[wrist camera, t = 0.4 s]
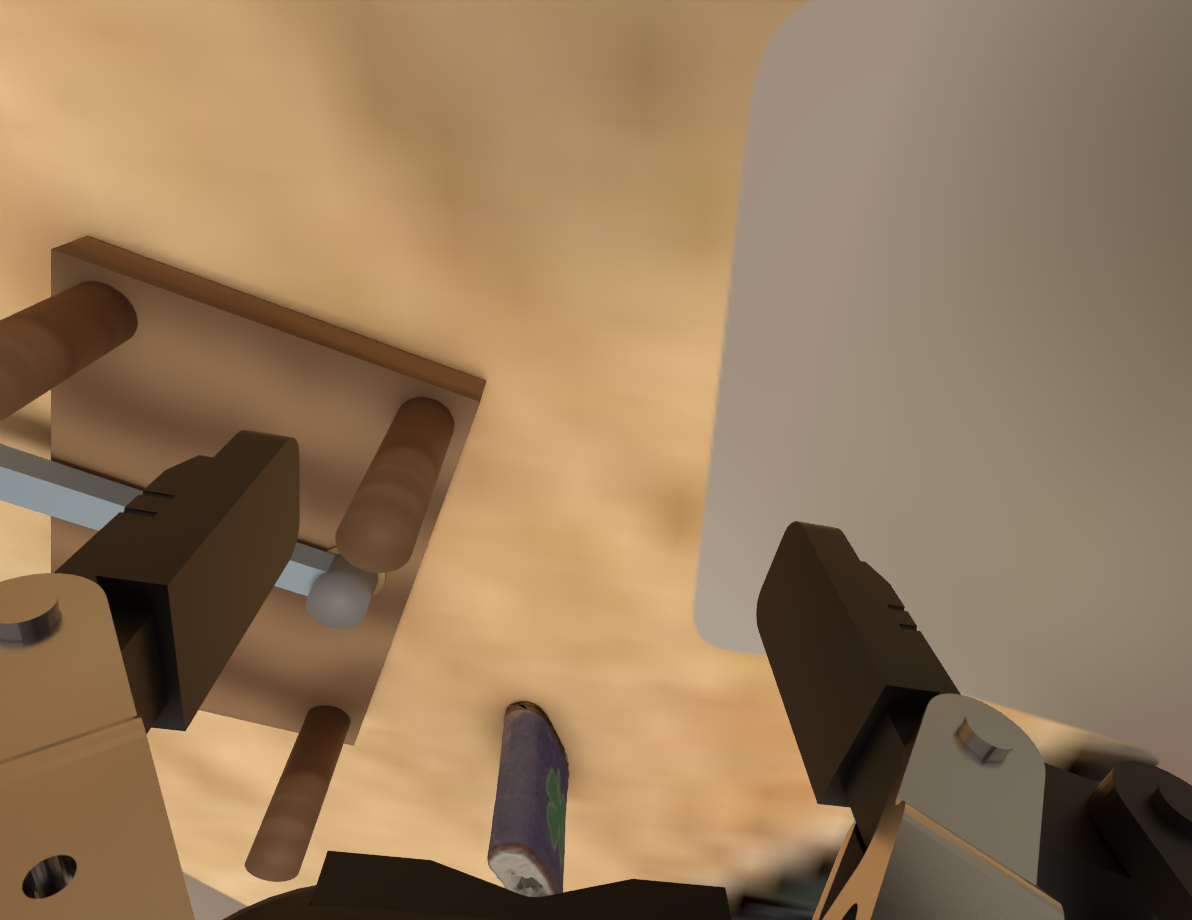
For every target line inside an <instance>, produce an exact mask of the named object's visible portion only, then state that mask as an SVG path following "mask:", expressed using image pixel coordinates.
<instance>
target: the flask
mask: <svg viewBox="0 0 1192 920" xmlns="http://www.w3.org/2000/svg"><path fill="white" fill-rule="evenodd" d="M519 705H524V706H525V707H526V708H527V709H524V708H523V707H521V706H519ZM519 705H518V704H516V705H513V706H512V705H510V706H509V708H508V710H507V711H506V714H505V717H504V730H503V736H502V748H501V757H500V768H499V776H498V784H497V793H496V801H495V806H494V814H493V822H492V830H491V838H490V844H489V851H488V865H489V867H490V869H491V870H492V871H493V872H494V873H495V874H496V876H497V878H498V879H499V880H501V881H502V883H503V885H504V886H505V889H508V890H511V891H513V892H516V893H519V894H521V895H525V896H528V897H543V896H548V895H553V894H558V893H563V872H564V853H565V818H566V803H567V790H568V778H569V770H568V765H569V764H568V763H567V755H566V753H565V749H564V747H562V745H561V743H560V739H559V738H558V736H557V733H556V731H555V730H554V728H553V726H552V724H551V722H550V721H549V719H548V716H547V714H545V713H544V712H543V711H542V710H541V709H540V708H539V707H537V706H536V705H535V704H531V703H528V702H523V703H521V704H519Z"/></svg>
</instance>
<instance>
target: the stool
mask: <svg viewBox="0 0 1192 920" xmlns="http://www.w3.org/2000/svg"><path fill="white" fill-rule="evenodd" d="M485 383H486V381H484V380H481V379H479V378H476V377H473V376H470V375H467V374H465V373H462V372H459V371H456V370H454V369H451V368H448V367H445V366H443V365H440V364H437V363H434V362H432V361H429V360H426V359H423V358H421V357H418V356H415V355H412V354H410V353H407V352H404V351H401V350H399V349H396V348H393V347H390V346H388V345H385V344H382V343H379V342H377V341H374V340H371V339H368V338H366V337H363V336H360V335H357V334H355V333H352V332H349V331H346V330H344V329H341V328H338V327H335V326H333V325H330V324H327V323H324V322H322V321H319V320H316V319H313V318H311V317H308V316H305V315H302V314H300V313H297V312H294V311H291V310H289V309H286V308H283V307H280V306H278V305H275V304H272V303H269V302H267V301H264V300H261V299H258V298H256V297H253V296H250V295H247V294H245V293H242V292H239V291H236V290H234V289H231V288H228V287H225V286H223V285H220V284H217V283H214V282H212V281H209V280H206V279H203V278H201V277H198V276H195V275H192V274H190V273H187V272H184V271H181V270H179V269H176V268H173V267H170V266H168V265H165V264H162V263H159V262H157V261H154V260H151V259H148V258H146V257H143V256H140V255H137V254H135V253H132V252H129V251H126V250H124V249H121V248H118V247H115V246H113V245H110V244H107V243H104V242H102V241H99V240H96V239H93V238H91V237H88V236H85V237H83V238H80V239H77V240H75V241H72V242H69V243H67V244H64V245H61V246H59V247H56V248H53V249H51V297H50V298H48V299H46V300H43V301H41V302H39V303H37V304H35V305H33V306H30V307H28V308H26V309H24V310H22V311H20V312H18V313H15V314H13V315H11V316H9V317H7V318H5V319H2V320H0V421H2V420H3V419H5V418H6V417H8V416H10V415H11V414H13V413H14V412H16V411H17V410H19V409H21V408H22V407H24V406H25V405H27V404H28V403H30V402H32V401H33V400H35V399H36V398H38V397H39V396H41V395H43V394H44V393H46V392H47V391H49V390H50V389H51V461H53V462H56V463H59V464H62V465H65V466H68V467H71V468H74V469H77V470H80V471H83V472H86V473H89V474H92V475H95V476H98V477H101V478H104V479H108V480H111V481H114V482H117V483H120V484H123V485H126V486H129V487H132V488H135V489H138V490H141V491H143V490H144V489H145V488H146V487H147V486H148V485H149V484H151V483H152V482H153V481H154V480H155V479H156V478H157V477H158V476H159V475H160V474H161V473H163V472H164V471H165V470H166V469H169V468H171V467H173V466H175V465H178V464H180V463H182V462H184V461H187V460H189V459H191V458H193V457H196V456H198V455H202V456H208V457H214V456H215V455H216V454H217V453H218V452H219V451H220V450H221V449H222V448H223V447H224V446H225V445H226V444H227V443H228V442H229V441H230V440H231V439H232V438H233V437H234V436H235V435H236V434H237V433H238V432H239V431H241V430H250V431H256V432H263V433H269V434H275V435H281V436H287V437H293V438H295V439H296V440H297V442H298V445H299V461H300V524H299V532H298V538H297V542H298V543H301V544H304V545H307V546H310V547H313V548H316V549H319V550H322V551H325V552H328V553H331V554H334V555H338V554H341V555H342V556H343V558H344V559H345V560H346V561H348V562H349V563H350V564H352V565H353V566H355V567H357V568H359V569H361V570H364V571H368V572H373V573H377V574H378V582H377V585H376V588H375V591H374V593H373V596H372V598H371V601H370V603H369V606H368V609H367V611H366V614H365V616H364V618H363V620H362V621H361V622H360V623H359V624H358V625H356V626H354V627H351V628H347V629H335V628H330V627H327V626H324V625H322V624H320V623H318V622H317V621H315V620H314V619H313V618H312V617H311V616H310V615H309V613H308V611H307V609H306V598H307V596H305V595H302V594H299V593H296V592H292V591H289V590H286V589H283V588H280V587H276V586H274V587H273V589H272V590H271V592H270V594H269V595H268V597H267V598H266V600H265V602H264V603H263V605H262V607H261V608H260V610H259V612H258V613H257V615H256V616H255V618H254V620H253V621H252V623H251V625H250V626H249V628H248V630H247V631H246V633H245V634H244V636H243V638H242V639H241V641H240V643H239V644H238V646H237V648H236V649H235V651H234V652H233V654H232V656H231V657H230V659H229V661H228V662H227V664H226V666H225V667H224V669H223V670H222V672H221V674H220V675H219V677H218V679H217V680H216V682H215V683H214V685H213V687H212V688H211V690H210V692H209V693H208V695H207V697H206V698H205V700H204V701H203V703H202V705H201V706H200V708H199V710H201V711H206V712H210V713H214V714H219V715H223V716H227V717H232V718H236V719H240V720H245V721H249V722H253V723H258V724H262V725H266V726H271V727H275V728H279V729H284V730H288V731H292V732H297V733H299V735H298V737H297V739H296V742H295V744H294V747H293V749H292V751H291V754H290V756H289V759H288V761H287V763H286V766H285V768H284V771H283V773H282V775H281V778H280V780H279V783H278V785H277V788H276V790H275V792H274V795H273V797H272V800H271V802H270V804H269V807H268V809H267V812H266V814H265V816H264V819H263V821H262V824H261V826H260V828H259V831H258V833H257V836H256V838H255V840H254V843H253V845H252V848H251V850H250V852H249V855H248V857H247V860H246V862H245V867H246V869H247V871H248V872H249V873H250V874H252V875H253V876H255V877H257V878H260V879H263V880H267V881H274V882H281V881H288V880H291V879H293V878H295V877H296V876H297V875H298V873H299V871H300V868H301V865H302V862H303V859H304V856H305V853H306V850H307V848H308V845H309V842H310V839H311V836H312V833H313V830H314V827H315V824H316V822H317V819H318V816H319V813H320V810H321V807H322V804H323V801H324V798H325V795H326V793H327V790H328V787H329V784H330V781H331V778H332V775H333V772H334V769H335V767H336V764H337V761H338V758H339V755H340V752H341V749H342V746H343V743H344V744H349V745H353V746H354V744H355V741H356V738H357V735H358V733H359V730H360V727H361V725H362V722H363V719H364V716H365V714H366V711H367V708H368V706H369V703H370V700H371V697H372V695H373V692H374V689H375V686H376V684H377V681H378V678H379V676H380V673H381V670H382V667H383V665H384V662H385V659H386V656H387V654H388V651H389V648H390V646H391V643H392V640H393V637H394V635H395V632H396V629H397V627H398V624H399V621H400V618H401V616H402V613H403V610H404V607H405V605H406V602H407V599H408V597H409V594H410V591H411V588H412V586H413V583H414V580H415V578H416V575H417V572H418V569H419V567H420V564H421V561H422V558H423V556H424V553H425V550H426V548H427V545H428V542H429V539H430V537H431V534H432V531H433V529H434V526H435V523H436V520H437V518H438V515H439V512H440V509H441V507H442V504H443V501H444V499H445V496H446V493H447V490H448V488H449V485H450V482H451V479H452V477H453V474H454V471H455V469H456V466H457V463H458V460H459V458H460V455H461V452H462V450H463V447H464V444H465V441H466V439H467V436H468V433H469V430H470V428H471V425H472V422H473V420H474V417H475V414H476V411H477V409H478V406H479V403H480V400H481V397H482V393H483V390H484V387H485ZM97 532H98V530H95V529H91V528H88V527H85V526H82V525H79V524H75V523H72V522H69V521H66V520H63V519H59V518H56V517H53V516H51V573H54V572H55V571H56V570H57V569H58V568H59V567H60V566H61V565H62V564H64V563H65V562H66V561H67V560H68V559H69V558H70V557H71V556H72V555H73V554H74V553H76V552H77V551H78V550H79V549H80V548H81V547H82V546H83V545H84V544H85V543H86V542H87V541H89V540H90V539H91V538H92V537H93V536H94V535H95V534H96V533H97Z"/></svg>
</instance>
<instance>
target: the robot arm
mask: <svg viewBox="0 0 1192 920" xmlns="http://www.w3.org/2000/svg"><path fill="white" fill-rule="evenodd" d="M299 524H300V461H299V445H298V442H297V440H296V439H295V438H293V437H287V436H281V435H275V434H269V433H263V432H256V431H250V430H241V431H239V432H238V433H237V434H236V435H235V436H234V437H233V438H232V439H231V440H230V441H229V442H228V443H227V444H226V445H225V446H224V447H223V448H222V449H221V450H220V451H219V452H218V453H217V454H216V455H215V456H214V457H208V456H202V455H198V456H196V457H193V458H191V459H189V460H187V461H184V462H182V463H180V464H178V465H175V466H173V467H171V468H169V469H166V470H165V471H164V472H163V473H161V474H160V475H159V476H158V477H157V478H156V479H155V480H154V481H153V482H152V483H151V484H149V485H148V486H147V487H146V488H145V489H144V490H143V494H142V495H138V496H136V497H135V498H134V499H133V500H132V501H131V502H130V503H129V504H128V505H127V506H126V507H124V512H119V513H118V514H117V515H116V516H115V517H114V518H113V519H111V520H110V521H109V522H108V523H107V524H106V525H105V526H104V527H103V528H102V529H101V530H99V531H98V532H97V533H96V534H95V535H94V536H93V537H92V538H91V539H90V540H89V541H87V542H86V543H85V544H84V545H83V546H82V547H81V548H80V549H79V550H78V551H77V552H76V553H74V554H73V555H72V556H71V557H70V558H69V559H68V560H67V561H66V562H65V563H64V564H62V565H61V566H60V567H59V568H58V569H57V570H56V571H55V572H54V573H45V574H33V575H27V576H21V577H17V578H13V579H9V580H5V581H2V582H0V920H195V918H194V914H193V910H192V907H191V903H190V899H189V895H188V892H187V888H186V884H185V880H184V876H183V872H182V869H181V865H180V861H179V857H178V853H177V850H176V846H175V842H174V838H173V834H172V831H171V827H170V823H169V819H168V815H167V811H166V808H165V804H164V800H163V796H162V792H161V789H160V785H159V781H158V777H157V773H156V770H155V766H154V762H153V758H152V754H151V751H150V747H149V743H148V739H147V735H146V734H147V733H148V731H149V730H150V728H151V727H152V728H161V729H170V730H179V731H186V729H187V728H188V726H189V724H190V723H191V721H192V719H193V718H194V716H195V715H196V713H197V711H198V710H199V708H200V706H201V705H202V703H203V701H204V700H205V698H206V697H207V695H208V693H209V692H210V690H211V688H212V687H213V685H214V683H215V682H216V680H217V679H218V677H219V675H220V674H221V672H222V670H223V669H224V667H225V666H226V664H227V662H228V661H229V659H230V657H231V656H232V654H233V652H234V651H235V649H236V648H237V646H238V644H239V643H240V641H241V639H242V638H243V636H244V634H245V633H246V631H247V630H248V628H249V626H250V625H251V623H252V621H253V620H254V618H255V616H256V615H257V613H258V612H259V610H260V608H261V607H262V605H263V603H264V602H265V600H266V598H267V597H268V595H269V594H270V592H271V590H272V589H273V587H274V585H275V584H276V582H277V580H278V579H279V577H280V576H281V574H282V572H283V571H284V569H285V567H286V566H287V564H288V562H289V561H290V559H291V557H292V554H293V552H294V549H295V546H296V542H297V538H298V532H299ZM904 608H905V607H904V605H903V604H902V602H901V600H900V599H899V598H898V596H897V594H896V593H895V591H894V590H893V588H892V586H891V585H890V584H889V583H888V582H887V581H886V580H885V579H884V578H883V577H882V576H881V575H879V574H878V573H877V572H876V571H875V570H874V569H873V568H872V567H871V566H869V565H868V564H867V563H866V562H862V561H860V560H859V558H858V556H857V555H856V553H855V551H854V550H853V548H852V547H851V545H850V543H849V542H848V540H847V538H846V537H845V535H844V533H843V532H842V531H841V530H840V529H838V528H834V527H828V526H822V525H815V524H809V523H803V522H797V521H796V522H793V523H791V524H790V525H789V526H788V527H787V529H786V531H785V533H784V535H783V538H782V540H781V542H780V545H779V547H778V550H777V552H776V555H775V557H774V559H773V562H772V564H771V567H770V569H769V571H768V574H767V576H766V579H765V581H764V584H763V586H762V588H761V591H760V594H759V598H758V603H757V626H758V630H759V633H760V636H761V639H762V642H763V645H764V648H765V651H766V654H767V657H768V659H769V662H770V665H771V668H772V671H773V674H774V677H775V680H776V683H777V686H778V689H779V692H780V695H781V698H782V701H783V703H784V706H785V709H786V712H787V715H788V718H789V721H790V724H791V727H792V730H793V733H794V736H795V739H796V742H797V745H798V747H799V750H800V753H801V756H802V759H803V762H804V765H805V768H806V771H807V774H808V777H809V780H810V783H811V786H812V789H813V791H814V794H815V797H816V800H817V803H818V804H824V805H833V806H842V807H850V808H851V810H852V813H853V815H854V818H855V821H854V823H853V824H852V826H851V827H850V829H849V831H848V832H847V834H846V836H845V839H844V841H843V844H842V846H841V849H840V851H839V854H838V856H837V859H836V861H835V864H834V866H833V869H832V871H831V874H830V876H829V879H828V881H827V884H826V886H825V889H824V892H823V894H822V897H821V899H820V902H819V904H818V907H817V909H816V912H815V914H814V917H813V919H812V920H1192V786H1191V785H1190V784H1188V783H1186V782H1185V781H1183V780H1182V779H1180V778H1178V777H1176V776H1174V775H1173V774H1171V773H1169V772H1167V771H1164V770H1162V769H1160V768H1158V767H1155V766H1152V765H1150V764H1146V763H1142V762H1137V761H1124V762H1121V763H1118V764H1117V765H1116V766H1115V767H1114V768H1113V769H1112V771H1111V772H1110V773H1109V774H1108V775H1107V776H1106V777H1105V779H1104V780H1103V781H1102V782H1101V783H1100V784H1099V783H1096V782H1093V781H1091V780H1088V779H1085V778H1083V777H1080V776H1078V775H1075V774H1072V773H1070V772H1067V771H1065V770H1062V769H1059V768H1057V767H1054V766H1052V765H1049V764H1046V763H1044V761H1043V758H1042V756H1041V754H1040V752H1039V750H1038V749H1037V747H1036V746H1035V744H1034V743H1033V742H1032V740H1031V739H1030V738H1029V737H1028V736H1027V734H1026V733H1025V732H1024V731H1023V730H1022V729H1021V728H1020V727H1019V726H1017V725H1016V724H1015V723H1014V722H1013V721H1012V720H1010V719H1009V718H1008V717H1006V716H1005V715H1004V714H1002V713H1001V712H999V711H997V710H996V709H994V708H993V707H991V706H989V705H987V704H985V703H983V702H981V701H978V700H976V699H973V698H971V697H967V696H964V695H961V694H960V693H959V691H958V689H957V688H956V686H955V685H954V683H953V682H952V680H951V679H950V677H949V676H948V674H947V672H946V671H945V669H944V668H943V666H942V664H941V663H940V661H939V660H938V658H937V657H936V655H935V654H934V652H933V650H932V649H931V647H930V646H929V644H928V643H927V641H926V640H925V638H924V636H923V635H922V633H921V632H920V631H917V630H916V628H917V625H916V624H915V622H914V621H913V619H912V618H911V616H910V614H909V613H908V612H907V611H904ZM223 920H731V916H730V911H729V905H728V900H727V895H726V889H725V887H714V886H703V885H692V884H682V883H671V882H660V881H649V880H638V879H630V880H625V881H620V882H615V883H610V884H605V885H599V886H594V887H589V888H584V889H579V890H574V891H569V892H563V893H558V894H553V895H548V896H543V897H528V896H525V895H521V894H519V893H516V892H513V891H511V890H508V889H505V888H503V887H500V886H497V885H495V884H492V883H490V882H487V881H484V880H482V879H479V878H476V877H474V876H471V875H468V874H466V873H463V872H461V871H458V870H455V869H453V868H450V867H447V866H445V865H442V864H439V863H437V862H434V861H431V860H423V859H412V858H401V857H390V856H379V855H369V854H358V853H347V852H336V851H328V852H327V855H326V858H325V861H324V864H323V867H322V870H321V873H320V876H319V879H318V882H317V885H315V886H310V887H305V888H300V889H296V890H292V891H289V892H286V893H282V894H279V895H276V896H273V897H269V898H267V899H265V900H262V901H260V902H258V903H255V904H253V905H251V906H248V907H246V908H243V909H241V910H239V911H237V912H236V913H234V914H232V915H230V916H228V917H227V918H225V919H223Z"/></svg>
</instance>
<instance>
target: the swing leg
mask: <svg viewBox="0 0 1192 920" xmlns="http://www.w3.org/2000/svg"><path fill="white" fill-rule="evenodd" d="M142 494H143V491H141V490H138V489H135V488H132V487H129V486H126V485H123V484H120V483H117V482H114V481H111V480H108V479H104V478H101V477H98V476H95V475H92V474H89V473H86V472H83V471H80V470H77V469H74V468H71V467H68V466H65V465H62V464H59V463H56V462H53V461H50V460H47V459H44V458H41V457H38V456H35V455H32V454H29V453H26V452H23V451H20V450H17V449H14V448H11V447H8V446H5V445H2V444H0V500H2V501H5V502H8V503H12V504H15V505H18V506H21V507H24V508H28V509H31V510H34V511H37V512H40V513H43V514H47V515H50V516H53V517H56V518H59V519H63V520H66V521H69V522H72V523H75V524H79V525H82V526H85V527H88V528H91V529H95V530H98V531H99V530H101V529H102V528H103V527H104V526H105V525H106V524H107V523H108V522H109V521H110V520H111V519H113V518H114V517H115V516H116V515H117V514H118V513H119V512H124V507H126V506H127V505H128V504H129V503H130V502H131V501H132V500H133V499H134V498H135V497H136V496H138V495H142ZM377 582H378V574H377V573H373V572H368V571H364V570H361V569H359V568H357V567H355V566H353V565H352V564H350V563H349V562H348V561H346V560H345V559H344V558H343V556H342V555H341V554H338V555H334V554H331V553H328V552H325V551H322V550H319V549H316V548H313V547H310V546H307V545H304V544H301V543H298V542H296V546H295V549H294V552H293V554H292V557H291V559H290V561H289V562H288V564H287V566H286V567H285V569H284V571H283V572H282V574H281V576H280V577H279V579H278V580H277V582H276V584H275V585H274V586H276V587H280V588H283V589H286V590H289V591H292V592H296V593H299V594H302V595H305V596H307V598H306V609H307V611H308V613H309V615H310V616H311V617H312V618H313V619H314V620H315V621H317V622H318V623H320V624H322V625H324V626H327V627H330V628H335V629H347V628H351V627H354V626H356V625H358V624H359V623H360V622H361V621H362V620H363V618H364V616H365V614H366V611H367V609H368V606H369V603H370V601H371V598H372V596H373V593H374V591H375V588H376V585H377Z"/></svg>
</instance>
